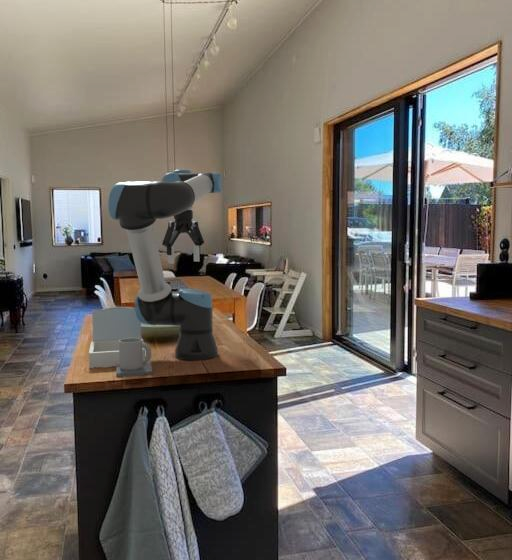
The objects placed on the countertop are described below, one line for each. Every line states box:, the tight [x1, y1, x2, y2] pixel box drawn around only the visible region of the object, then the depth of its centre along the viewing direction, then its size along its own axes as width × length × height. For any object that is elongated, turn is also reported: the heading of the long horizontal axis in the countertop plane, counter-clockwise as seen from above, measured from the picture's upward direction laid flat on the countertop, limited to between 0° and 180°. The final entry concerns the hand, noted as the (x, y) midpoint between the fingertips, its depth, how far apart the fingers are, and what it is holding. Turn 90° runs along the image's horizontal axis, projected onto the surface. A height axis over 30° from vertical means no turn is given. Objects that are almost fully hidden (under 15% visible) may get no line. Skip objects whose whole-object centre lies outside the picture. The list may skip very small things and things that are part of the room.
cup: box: [119, 338, 152, 370], centre depth 179 cm, size 7×10×9 cm
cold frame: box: [88, 307, 146, 369], centre depth 196 cm, size 23×18×16 cm
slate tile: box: [115, 362, 154, 378], centre depth 180 cm, size 11×11×1 cm
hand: (184, 262), depth 227 cm, fingers open, 13 cm apart
